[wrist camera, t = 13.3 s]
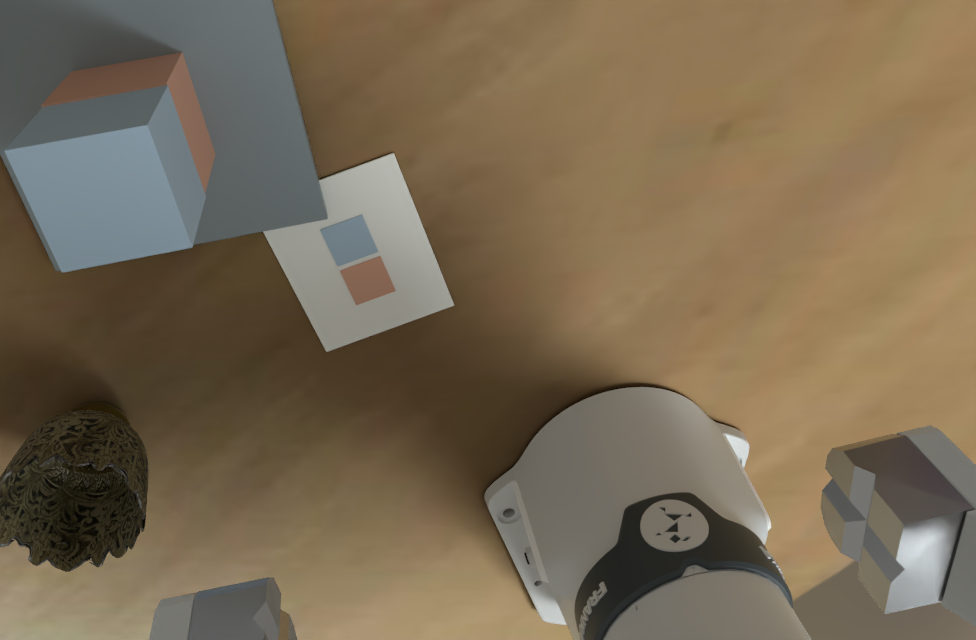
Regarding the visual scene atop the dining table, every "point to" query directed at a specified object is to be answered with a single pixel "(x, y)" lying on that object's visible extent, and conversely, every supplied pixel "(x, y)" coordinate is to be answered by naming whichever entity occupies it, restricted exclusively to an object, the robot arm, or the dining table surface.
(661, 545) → the robot arm
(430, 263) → the page
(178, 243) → the blue brick
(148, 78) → the base brick
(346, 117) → the dining table surface
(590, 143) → the dining table surface
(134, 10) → the plate
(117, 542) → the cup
